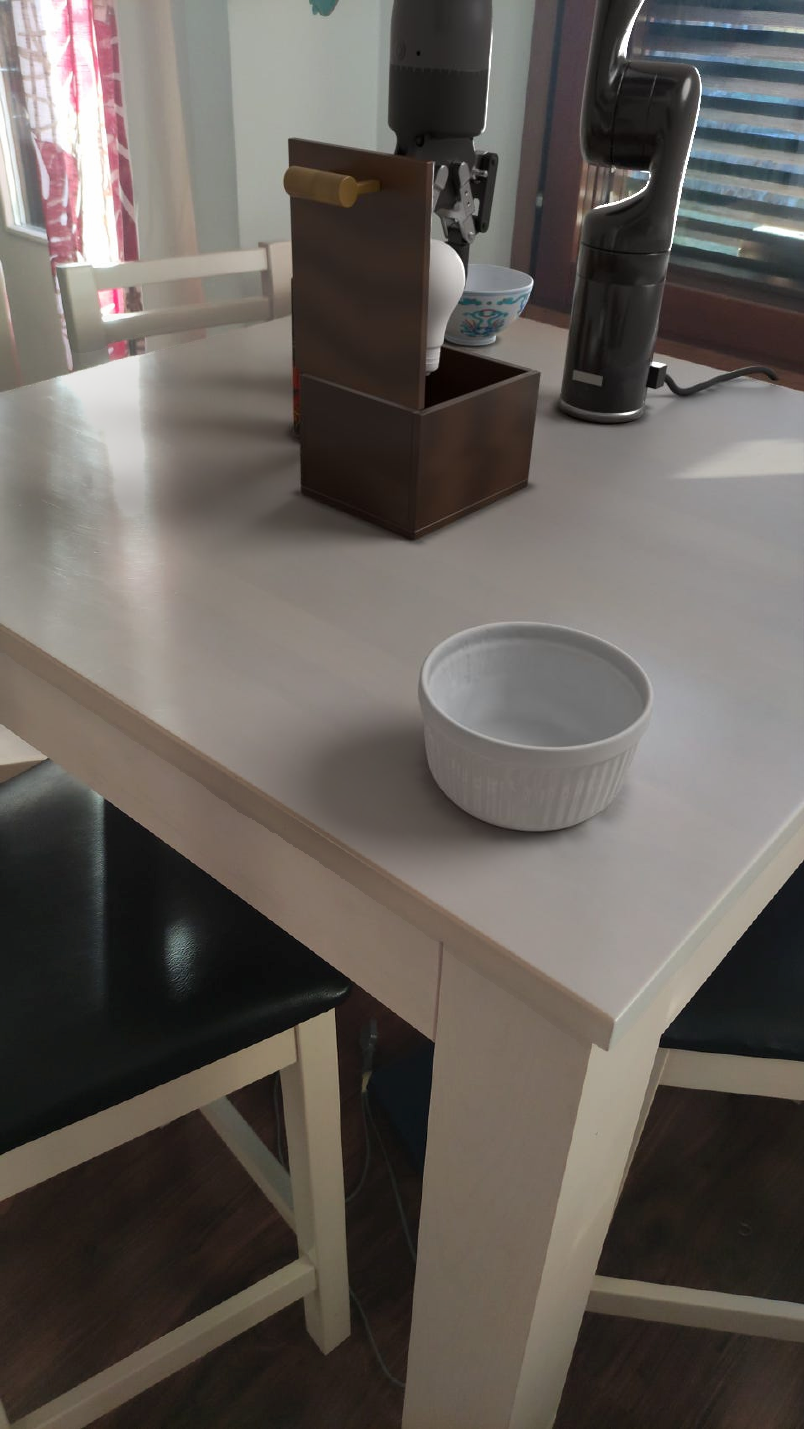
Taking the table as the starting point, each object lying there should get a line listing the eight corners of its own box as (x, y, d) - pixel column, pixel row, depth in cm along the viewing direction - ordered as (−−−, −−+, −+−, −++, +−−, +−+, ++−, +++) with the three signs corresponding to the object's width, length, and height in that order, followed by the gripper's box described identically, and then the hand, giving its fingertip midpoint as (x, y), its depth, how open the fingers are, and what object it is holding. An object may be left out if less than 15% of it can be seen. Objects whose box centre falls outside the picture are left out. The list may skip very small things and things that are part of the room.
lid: (295, 137, 79) (242, 144, 76) (434, 161, 72) (383, 169, 69) (301, 368, 90) (255, 383, 86) (424, 408, 83) (379, 426, 79)
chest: (417, 447, 106) (423, 338, 100) (527, 486, 99) (541, 371, 93) (300, 493, 96) (298, 374, 90) (414, 540, 89) (420, 415, 83)
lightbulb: (466, 370, 93) (476, 236, 87) (446, 390, 88) (455, 250, 82) (401, 361, 95) (406, 228, 88) (378, 380, 90) (381, 242, 84)
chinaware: (404, 349, 134) (407, 285, 129) (422, 319, 146) (425, 259, 141) (522, 360, 132) (529, 295, 127) (530, 328, 144) (536, 268, 140)
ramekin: (473, 874, 56) (484, 772, 52) (378, 736, 66) (382, 641, 62) (677, 816, 61) (702, 719, 57) (561, 695, 71) (575, 604, 67)
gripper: (416, 67, 72) (405, 321, 81) (536, 62, 81) (514, 291, 90) (336, 58, 76) (335, 302, 85) (460, 55, 85) (446, 275, 94)
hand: (427, 295), depth 88 cm, fingers closed on lightbulb, 6 cm apart
